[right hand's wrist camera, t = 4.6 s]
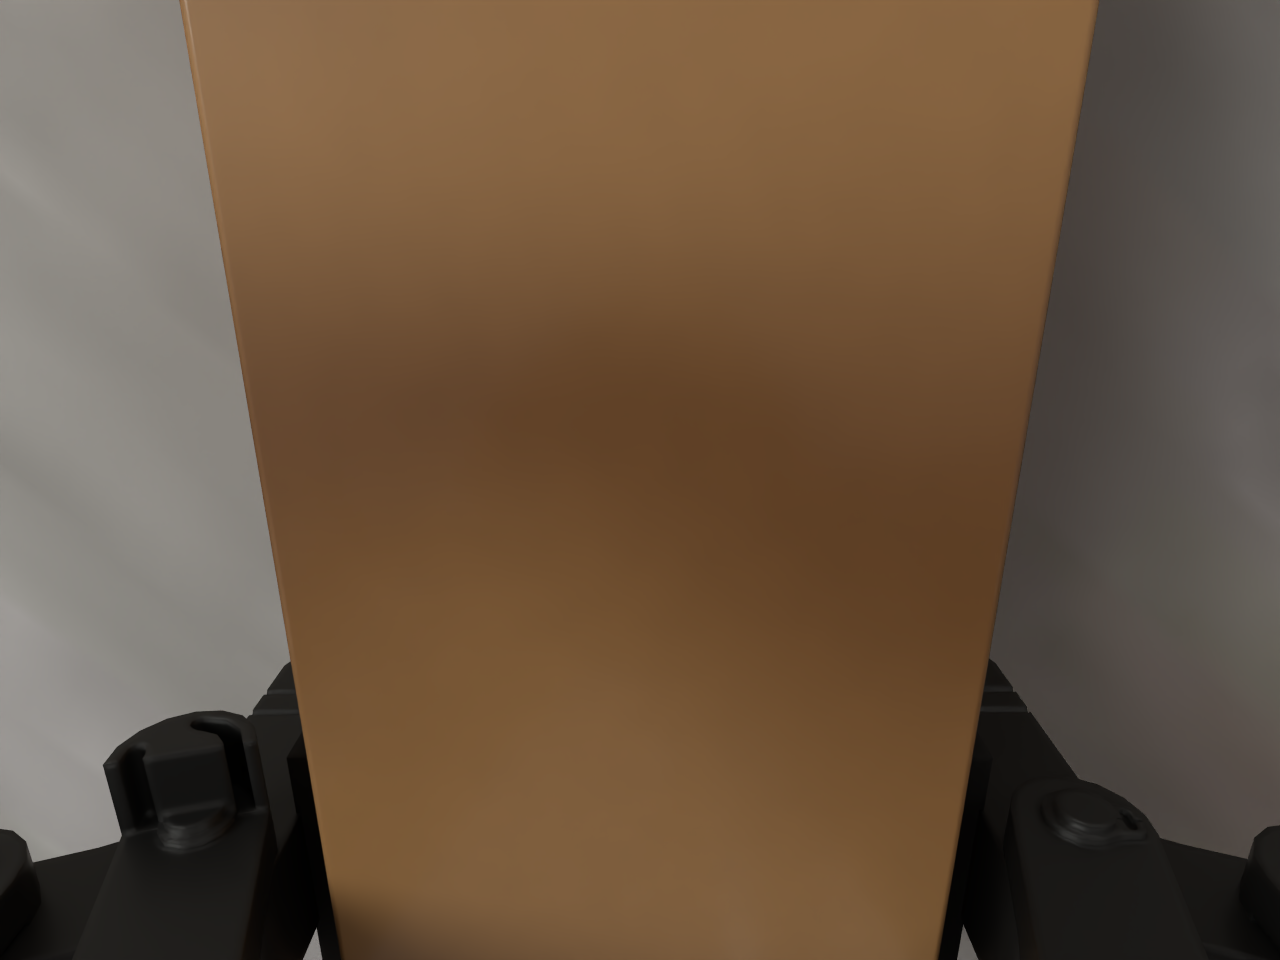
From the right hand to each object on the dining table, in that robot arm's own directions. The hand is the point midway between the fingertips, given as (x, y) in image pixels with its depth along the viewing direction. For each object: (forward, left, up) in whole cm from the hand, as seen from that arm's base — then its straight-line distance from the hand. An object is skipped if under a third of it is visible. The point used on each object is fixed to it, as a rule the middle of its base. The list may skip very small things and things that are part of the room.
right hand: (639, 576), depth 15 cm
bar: (+7, +4, 0) cm, 8 cm away
